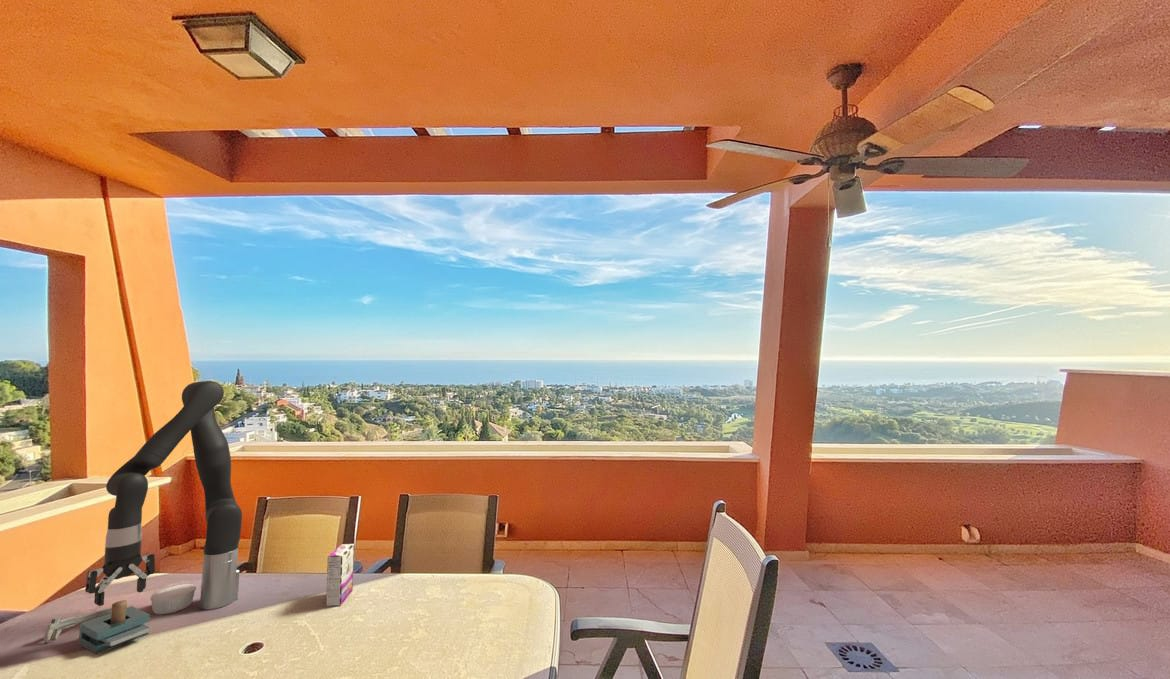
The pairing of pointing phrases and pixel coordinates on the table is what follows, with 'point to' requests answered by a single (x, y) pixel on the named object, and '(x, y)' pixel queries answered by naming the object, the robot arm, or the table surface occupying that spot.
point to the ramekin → (172, 598)
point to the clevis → (113, 630)
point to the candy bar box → (339, 574)
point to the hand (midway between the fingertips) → (120, 598)
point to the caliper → (69, 623)
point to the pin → (118, 611)
